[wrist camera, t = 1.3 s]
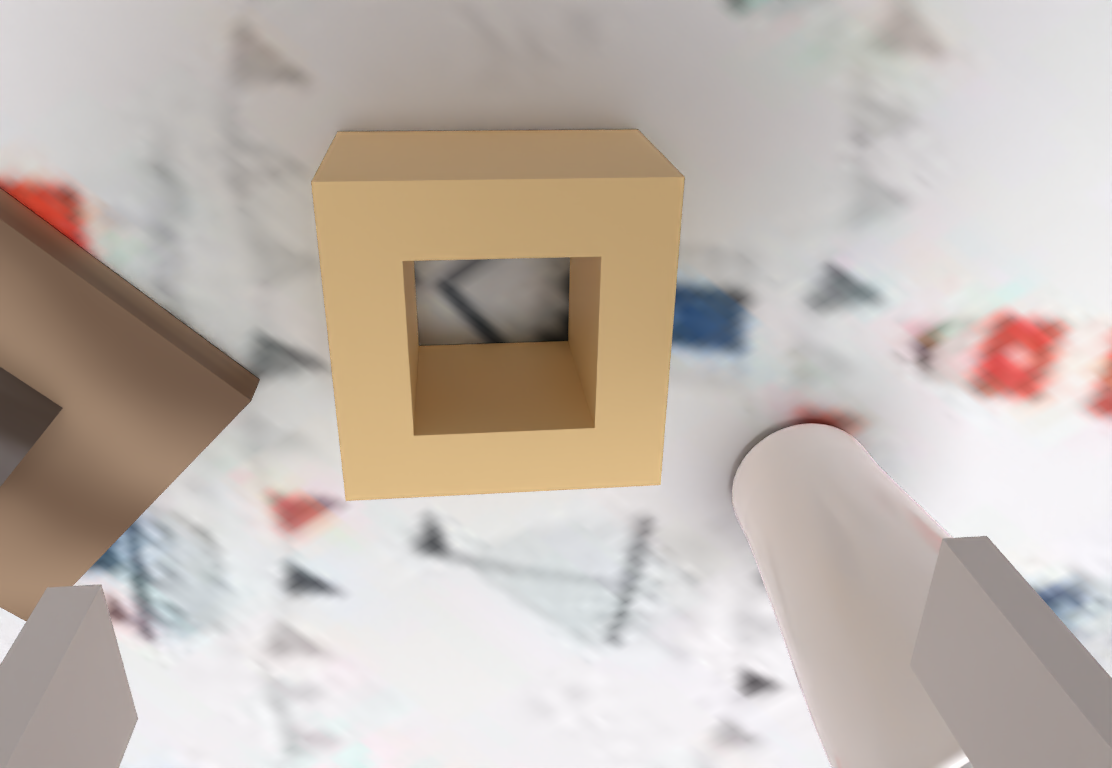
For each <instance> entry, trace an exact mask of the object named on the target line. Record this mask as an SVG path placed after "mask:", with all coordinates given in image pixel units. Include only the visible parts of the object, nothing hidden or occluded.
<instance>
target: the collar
mask: <svg viewBox="0 0 1112 768" xmlns="http://www.w3.org/2000/svg"><path fill="white" fill-rule="evenodd" d="M684 180H685V177H684V176H683V175H682V174H681V173H680V172H679V171H678V170H677V169H676V168H675V167H674V166H673V165H672V164H671V163H670V162H669V161H668V160H667V159H666V157H665V156H664V155H663V154H662V153H661V152H660V151H659V150H658V149H657V148H656V147H655V146H654V145H653V144H652V143H651V142H650V141H649V140H648V139H647V138H646V137H645V136H644V135H643V134H642V133H641V132H640V131H639V130H638V129H618V130H483V131H348V132H337V134H336V136H335V138H334V139H333V141H332V143H331V145H330V147H329V149H328V151H327V153H326V155H325V157H324V158H323V160H322V162H321V164H320V166H319V168H318V170H317V172H316V174H315V176H314V178H313V179H312V181H311V185H312V194H313V203H314V213H315V222H316V231H317V240H318V249H319V259H320V268H321V277H322V286H323V295H324V305H325V314H326V323H327V332H328V341H329V351H330V360H331V369H332V378H333V387H334V397H335V406H336V415H337V424H338V433H339V443H340V452H341V461H342V470H343V479H344V489H345V498H346V501H352V500H372V499H392V498H411V497H431V496H451V495H471V494H491V493H511V492H530V491H550V490H570V489H590V488H610V487H629V486H649V485H660V484H661V471H662V458H663V446H664V433H665V420H666V408H667V395H668V382H669V370H670V357H671V344H672V332H673V319H674V306H675V294H676V281H677V268H678V256H679V243H680V230H681V218H682V205H683V192H684ZM558 257H570V282H569V326H568V341H552V342H522V343H491V344H461V345H430V346H419V338H418V322H417V305H416V288H415V271H414V261H426V260H470V259H514V258H558Z"/></svg>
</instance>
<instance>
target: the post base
mask: <svg viewBox="0 0 1112 768" xmlns="http://www.w3.org/2000/svg"><path fill="white" fill-rule="evenodd" d="M258 383H259V379H258V378H257V377H255V376H254V375H253V374H251V373H250V372H249V371H247V370H246V369H245V368H243V367H242V366H240V365H239V364H238V363H236V362H235V361H234V360H232V359H231V358H230V357H228V356H227V355H226V354H224V353H223V352H222V351H220V350H219V349H217V348H216V347H215V346H213V345H212V344H211V343H209V342H208V341H207V340H205V339H204V338H203V337H201V336H200V335H199V334H197V333H196V332H194V331H193V330H192V329H190V328H189V327H188V326H186V325H185V324H184V323H182V322H181V321H180V320H178V319H177V318H175V317H174V316H173V315H171V314H170V313H169V312H167V311H166V310H165V309H163V308H162V307H161V306H159V305H158V304H157V303H155V302H154V301H152V300H151V299H150V298H148V297H147V296H146V295H144V294H143V293H142V292H140V291H139V290H138V289H136V288H135V287H134V286H132V285H131V284H129V283H128V282H127V281H125V280H124V279H123V278H121V277H120V276H119V275H117V274H116V273H115V272H113V271H112V270H110V269H109V268H108V267H106V266H105V265H104V264H102V263H101V262H100V261H98V260H97V259H96V258H94V257H93V256H92V255H90V254H89V253H87V252H86V251H85V250H83V249H82V248H81V247H79V246H78V245H77V244H75V243H74V242H73V241H71V240H70V239H69V238H67V237H66V236H64V235H63V234H62V233H60V232H59V231H58V230H56V229H55V228H54V227H52V226H51V225H50V224H48V223H47V222H46V221H44V220H43V219H41V218H40V217H39V216H37V215H36V214H35V213H33V212H32V211H31V210H29V209H28V208H27V207H25V206H24V205H22V204H21V203H20V202H18V201H17V200H16V199H14V198H13V197H12V196H10V195H9V194H8V193H6V192H5V191H4V190H2V189H1V188H0V607H1V608H3V609H5V610H6V611H8V612H10V613H12V614H14V615H16V616H17V617H19V618H21V619H23V620H25V621H27V620H28V618H29V617H30V615H31V613H32V612H33V610H34V608H35V607H36V605H37V604H38V602H39V600H40V599H41V597H42V595H43V594H44V592H45V590H46V589H47V588H48V587H66V586H73V585H74V584H75V583H76V582H77V581H78V580H79V579H80V578H81V577H82V576H83V575H84V574H85V573H86V571H87V570H88V569H89V568H90V567H91V566H92V565H93V564H94V563H95V562H96V561H97V560H98V559H99V558H100V557H101V556H102V555H103V554H104V553H105V552H106V551H107V550H108V549H109V548H110V547H111V546H112V545H113V543H114V542H115V541H116V540H117V539H118V538H119V537H120V536H121V535H122V534H123V533H124V532H125V531H126V530H127V529H128V528H129V527H130V526H131V525H132V524H133V523H134V522H135V521H136V520H137V519H138V518H139V517H140V515H141V514H142V513H143V512H144V511H145V510H146V509H147V508H148V507H149V506H150V505H151V504H152V503H153V502H154V501H155V500H156V499H157V498H158V497H159V496H160V495H161V494H162V493H163V492H164V491H165V490H166V489H167V487H168V486H169V485H170V484H171V483H172V482H173V481H174V480H175V479H176V478H177V477H178V476H179V475H180V474H181V473H182V472H183V471H184V470H185V469H186V468H187V467H188V466H189V465H190V464H191V463H192V462H193V461H194V459H195V458H196V457H197V456H198V455H199V454H200V453H201V452H202V451H203V450H204V449H205V448H206V447H207V446H208V445H209V444H210V443H211V442H212V441H213V440H214V439H215V438H216V437H217V436H218V435H219V434H220V433H221V431H222V430H223V429H224V428H225V427H226V426H227V425H228V424H229V423H230V422H231V421H232V420H233V419H234V418H235V417H236V416H237V415H238V414H239V413H240V412H241V411H242V410H243V409H244V408H245V407H246V406H247V405H248V403H249V402H250V401H251V400H252V397H253V395H254V393H255V390H256V388H257V385H258Z"/></svg>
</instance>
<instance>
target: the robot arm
mask: <svg viewBox="0 0 1112 768" xmlns="http://www.w3.org/2000/svg"><path fill="white" fill-rule="evenodd" d="M910 666H911V668H912V670H913V671H914V673H915V674H916V676H917V678H918V679H919V681H920V682H921V684H922V686H923V687H924V689H925V691H926V692H927V694H928V695H929V697H930V699H931V700H932V702H933V703H934V705H935V707H936V708H937V710H938V711H939V713H940V715H941V716H942V718H943V719H944V721H945V723H946V724H947V726H948V727H949V729H950V731H951V732H952V734H953V736H954V737H955V739H956V740H957V742H958V744H959V745H960V747H961V748H962V750H963V752H964V753H965V755H966V756H967V758H968V760H969V761H970V763H971V764H972V766H973V768H1112V678H1111V677H1110V676H1109V674H1108V673H1107V672H1106V671H1105V670H1104V669H1103V668H1102V667H1101V665H1100V664H1099V663H1098V662H1097V661H1096V660H1095V659H1094V657H1093V656H1092V655H1091V654H1090V653H1089V652H1088V651H1087V649H1086V648H1085V647H1084V646H1083V645H1082V644H1081V643H1080V641H1079V640H1078V639H1077V638H1076V637H1075V636H1074V635H1073V634H1072V632H1071V631H1070V630H1069V629H1068V628H1067V627H1066V626H1065V624H1064V623H1063V622H1062V621H1061V620H1060V619H1059V618H1058V616H1057V615H1056V614H1055V613H1054V612H1053V611H1052V610H1051V609H1050V607H1049V606H1048V605H1047V604H1046V603H1045V602H1044V601H1043V599H1042V598H1041V597H1040V596H1039V595H1038V594H1037V593H1036V591H1035V590H1034V589H1033V588H1032V587H1031V586H1030V585H1029V583H1028V582H1027V581H1026V580H1025V579H1024V578H1023V577H1022V576H1021V574H1020V573H1019V572H1018V571H1017V570H1016V569H1015V568H1014V566H1013V565H1012V564H1011V563H1010V562H1009V561H1008V560H1007V558H1006V557H1005V556H1004V555H1003V554H1002V553H1001V552H1000V550H999V549H998V548H997V547H996V546H995V545H994V544H993V543H992V541H991V540H990V539H989V538H988V537H987V536H980V537H961V538H943V539H942V542H941V546H940V550H939V554H938V558H937V561H936V565H935V569H934V573H933V577H932V581H931V585H930V588H929V592H928V596H927V600H926V604H925V608H924V612H923V615H922V619H921V623H920V627H919V631H918V635H917V639H916V642H915V646H914V650H913V654H912V658H911V662H910ZM137 720H138V717H137V713H136V709H135V706H134V702H133V698H132V695H131V691H130V687H129V684H128V680H127V676H126V673H125V669H124V665H123V662H122V658H121V654H120V651H119V647H118V643H117V640H116V636H115V632H114V629H113V625H112V621H111V618H110V614H109V610H108V607H107V603H106V599H105V596H104V592H103V589H102V585H85V586H66V587H48V588H47V589H46V590H45V592H44V594H43V595H42V597H41V599H40V600H39V602H38V604H37V605H36V607H35V608H34V610H33V612H32V613H31V615H30V617H29V618H28V620H27V622H26V623H25V625H24V627H23V628H22V630H21V632H20V633H19V635H18V637H17V638H16V640H15V641H14V643H13V645H12V646H11V648H10V650H9V651H8V653H7V655H6V656H5V658H4V660H3V661H2V663H1V665H0V768H119V766H120V763H121V761H122V758H123V756H124V753H125V750H126V748H127V745H128V743H129V740H130V738H131V735H132V733H133V730H134V727H135V725H136V722H137Z"/></svg>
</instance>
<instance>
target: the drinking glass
mask: <svg viewBox="0 0 1112 768" xmlns="http://www.w3.org/2000/svg"><path fill="white" fill-rule="evenodd" d="M732 504H733V509H734V512H735V515H736V518H737V520H738V522H739V524H740V526H741V528H742V530H743V532H744V534H745V536H746V538H747V540H748V542H749V545H750V548H751V550H752V553H753V556H754V559H755V561H756V564H757V567H758V569H759V572H760V575H761V578H762V580H763V583H764V586H765V589H766V592H767V594H768V597H769V600H770V603H771V606H772V608H773V611H774V614H775V617H776V620H777V622H778V625H779V628H780V631H781V634H782V637H783V640H784V642H785V645H786V648H787V651H788V654H789V657H790V660H791V662H792V665H793V668H794V671H795V674H796V677H797V680H798V682H799V685H800V688H801V691H802V694H803V697H804V699H805V702H806V705H807V708H808V710H809V713H810V716H811V719H812V721H813V724H814V726H815V729H816V732H817V734H818V737H819V739H820V742H821V744H822V746H823V749H824V751H825V753H826V756H827V758H828V761H829V763H830V765H831V767H832V768H973V766H972V764H971V763H970V761H969V760H968V758H967V756H966V755H965V753H964V752H963V750H962V748H961V747H960V745H959V744H958V742H957V740H956V739H955V737H954V736H953V734H952V732H951V731H950V729H949V727H948V726H947V724H946V723H945V721H944V719H943V718H942V716H941V715H940V713H939V711H938V710H937V708H936V707H935V705H934V703H933V702H932V700H931V699H930V697H929V695H928V694H927V692H926V691H925V689H924V687H923V686H922V684H921V682H920V681H919V679H918V678H917V676H916V674H915V673H914V671H913V670H912V668H911V666H910V662H911V658H912V654H913V650H914V646H915V642H916V639H917V635H918V631H919V627H920V623H921V619H922V615H923V612H924V608H925V604H926V600H927V596H928V592H929V588H930V585H931V581H932V577H933V573H934V569H935V565H936V561H937V558H938V554H939V550H940V546H941V542H942V539H943V538H953V537H952V536H951V535H950V534H949V533H948V532H947V531H946V530H945V529H944V528H943V527H942V526H941V525H940V524H939V523H938V522H937V521H936V520H934V519H933V518H932V517H931V516H930V515H929V514H928V513H927V512H926V511H925V510H924V509H923V508H922V507H921V506H920V505H919V504H918V503H917V502H916V501H915V500H914V499H913V498H912V497H911V496H910V495H909V494H907V493H906V492H905V491H904V490H903V489H902V488H901V487H900V486H899V485H898V484H897V483H896V482H895V481H894V480H893V479H892V478H891V477H890V476H889V475H888V474H887V473H886V472H885V471H884V470H883V469H882V468H881V467H880V466H879V465H878V464H877V463H876V461H875V460H874V459H873V458H872V456H871V455H870V454H869V453H868V452H867V450H866V449H865V448H864V447H863V446H862V444H861V443H860V442H859V441H857V440H856V439H855V438H854V437H853V436H851V435H850V434H848V433H847V432H845V431H843V430H841V429H839V428H836V427H833V426H830V425H825V424H818V423H807V424H798V425H793V426H789V427H786V428H783V429H781V430H778V431H776V432H774V433H772V434H770V435H769V436H767V437H766V438H764V439H763V440H761V441H760V442H759V443H758V444H756V445H755V446H754V447H753V448H752V449H751V450H750V451H749V452H748V454H747V455H746V456H745V458H744V459H743V461H742V462H741V464H740V466H739V468H738V470H737V472H736V474H735V478H734V481H733V486H732Z"/></svg>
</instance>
